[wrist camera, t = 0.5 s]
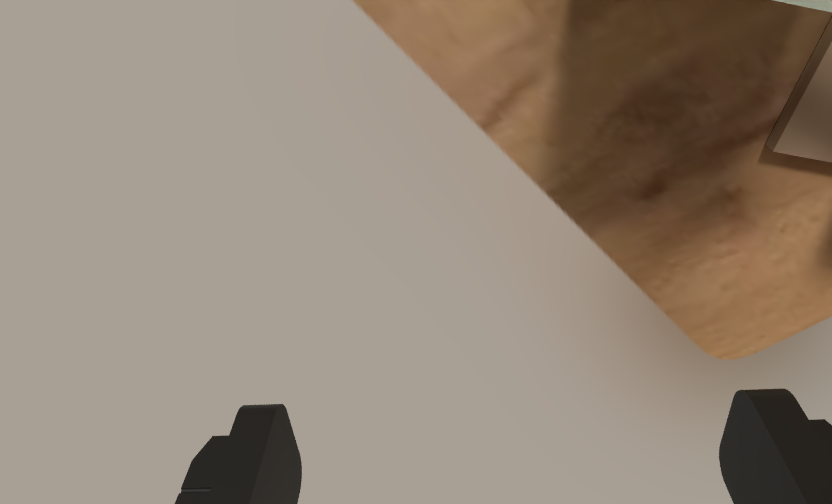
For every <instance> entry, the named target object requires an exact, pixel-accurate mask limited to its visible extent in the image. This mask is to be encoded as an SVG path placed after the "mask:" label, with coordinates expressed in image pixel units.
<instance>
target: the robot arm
mask: <svg viewBox="0 0 832 504" xmlns="http://www.w3.org/2000/svg"><path fill="white" fill-rule="evenodd" d="M719 460H720V467H721V472H722V476H723V479H724V482H725V484H726V487H727V489H728V491H729V494H730V496H731V498H732V501H733V503H734V504H832V425H831V424H829V423H828V422H827V421H826V420H824V419H823V420H808V418H807V416H806V415H805V413H804V411H803V410H802V408H801V407H800V405H799V403H798V402H797V400H796V399H795V397H794V396H793V394H791V392H790V391H788V390H786V389H758V390H739V391H737V392H736V393H735V395H734V398H733V402H732V405H731V409H730V412H729V415H728V419H727V423H726V426H725V430H724V433H723V437H722V440H721V444H720V449H719ZM301 475H302V467H301V458H300V453H299V450H298V447H297V443H296V440H295V437H294V434H293V430H292V427H291V423H290V420H289V417H288V413H287V410H286V408H285V406H284V405H283V404H271V405H244V406H242V407H241V408H240V409H239V411H238V413H237V415H236V418H235V421H234V424H233V426H232V429H231V432H230V435H229V436H212V438H211V439H210V440H209V441H208V442H207V443H206V445H205V446H204V447H203V448H202V449H201V451H200V452H199V453H198V454H197V455H196V456H195V458H194V459H193V460H192V462H191V465H190V467H189V470H188V472H187V475H186V477H185V480H184V482H183V485H182V487H181V490H182V491H181V493H180V494H179V495H178V497H177V500H176V502H175V504H297V502H298V498H299V493H300V487H301V478H302V476H301Z"/></svg>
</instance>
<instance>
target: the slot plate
mask: <svg viewBox="0 0 832 504" xmlns="http://www.w3.org/2000/svg"><path fill="white" fill-rule="evenodd" d="M765 145H766V146H767V147H768V148H769V149H770V150H772V151H773V152H777V153H783V154H788V155H794V156H799V157H804V158H810V159H815V160H821V161H826V162H831V163H832V18H831V20H830V21H829V23H828V25H827V27H826V29H825V31H824V33H823V35H822V37H821V39H820V41H819V42H818V44H817V46H816V48H815V50H814V52H813V54H812V56H811V58H810V60H809V62H808V63H807V65H806V67H805V69H804V71H803V73H802V75H801V77H800V79H799V81H798V83H797V84H796V86H795V88H794V90H793V92H792V94H791V96H790V98H789V100H788V102H787V104H786V105H785V107H784V109H783V111H782V113H781V115H780V117H779V119H778V121H777V123H776V125H775V126H774V128H773V130H772V132H771V134H770V136H769V138H768V140H767V142H766V144H765Z"/></svg>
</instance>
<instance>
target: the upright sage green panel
mask: <svg viewBox="0 0 832 504" xmlns="http://www.w3.org/2000/svg"><path fill="white" fill-rule="evenodd" d="M774 1H779V2H784V3H788V4H793V5H798V6H803V7H808V8H813V9H818V10H823V11H827V12H832V0H774Z"/></svg>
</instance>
